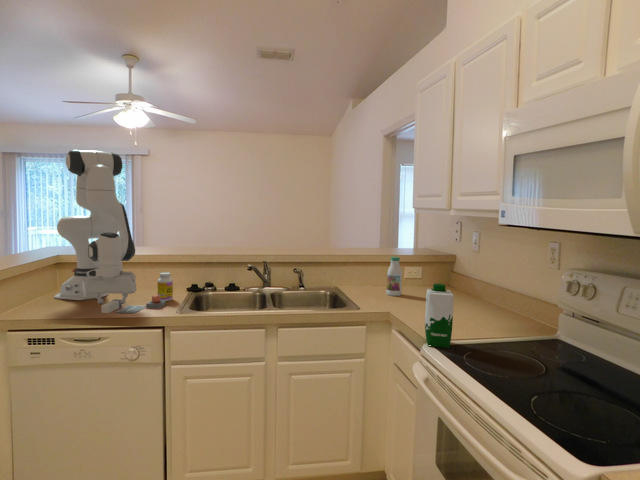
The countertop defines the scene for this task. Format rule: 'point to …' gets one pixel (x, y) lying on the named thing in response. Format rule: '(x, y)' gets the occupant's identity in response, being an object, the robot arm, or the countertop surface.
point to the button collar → (155, 304)
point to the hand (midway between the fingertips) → (111, 303)
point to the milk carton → (439, 316)
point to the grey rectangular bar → (111, 306)
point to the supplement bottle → (165, 287)
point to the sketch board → (131, 309)
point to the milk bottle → (394, 278)
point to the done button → (156, 299)
